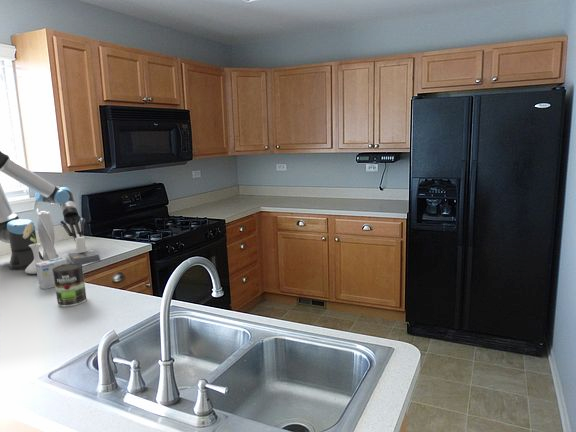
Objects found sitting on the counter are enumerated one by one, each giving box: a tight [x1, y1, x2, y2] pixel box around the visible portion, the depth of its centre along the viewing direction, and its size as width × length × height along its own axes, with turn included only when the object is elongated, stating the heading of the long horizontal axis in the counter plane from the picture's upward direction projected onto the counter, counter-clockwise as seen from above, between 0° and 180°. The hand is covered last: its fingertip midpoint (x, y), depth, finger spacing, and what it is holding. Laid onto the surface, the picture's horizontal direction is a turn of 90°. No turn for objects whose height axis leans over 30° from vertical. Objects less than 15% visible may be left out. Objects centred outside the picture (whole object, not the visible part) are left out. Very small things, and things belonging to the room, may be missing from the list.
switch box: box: [68, 249, 100, 265], centre depth 226 cm, size 12×14×3 cm
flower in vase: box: [23, 223, 44, 275], centre depth 205 cm, size 13×11×25 cm
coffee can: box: [52, 263, 88, 308], centre depth 165 cm, size 10×10×14 cm
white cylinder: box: [74, 236, 87, 253], centre depth 229 cm, size 4×4×8 cm
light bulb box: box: [35, 256, 68, 290], centre depth 188 cm, size 11×7×11 cm, turn 141°
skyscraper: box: [36, 208, 59, 261], centre depth 227 cm, size 8×8×28 cm
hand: (80, 244), depth 233 cm, fingers closed
